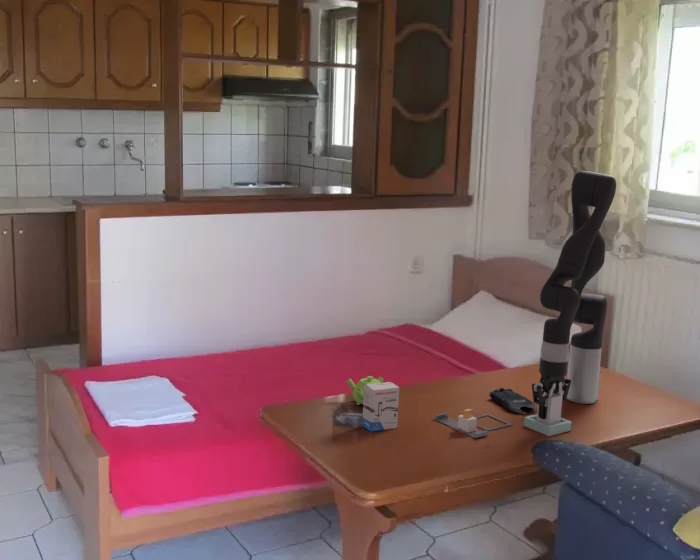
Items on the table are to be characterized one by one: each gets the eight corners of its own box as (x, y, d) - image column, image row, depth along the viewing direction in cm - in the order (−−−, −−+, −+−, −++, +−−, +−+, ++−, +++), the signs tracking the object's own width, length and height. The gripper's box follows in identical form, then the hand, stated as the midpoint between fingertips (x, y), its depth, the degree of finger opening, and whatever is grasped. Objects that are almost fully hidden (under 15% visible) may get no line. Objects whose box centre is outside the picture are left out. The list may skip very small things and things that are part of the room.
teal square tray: (545, 420, 231) (546, 411, 230) (570, 430, 224) (571, 421, 223) (523, 425, 226) (524, 417, 225) (548, 436, 218) (549, 427, 218)
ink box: (370, 432, 215) (372, 390, 213) (361, 426, 220) (363, 384, 217) (397, 428, 219) (400, 386, 217) (388, 422, 224) (391, 381, 221)
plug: (547, 418, 227) (550, 386, 226) (560, 423, 224) (563, 391, 222) (536, 420, 225) (539, 389, 223) (549, 426, 221) (552, 393, 219)
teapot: (392, 410, 233) (394, 382, 232) (354, 411, 230) (355, 383, 229) (381, 397, 244) (382, 370, 242) (344, 399, 241) (345, 371, 239)
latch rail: (446, 416, 230) (446, 412, 230) (487, 436, 217) (488, 431, 216) (434, 419, 227) (434, 414, 227) (475, 439, 214) (476, 434, 214)
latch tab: (465, 425, 222) (467, 406, 221) (475, 430, 219) (477, 411, 218) (457, 427, 221) (459, 408, 220) (467, 432, 217) (469, 413, 216)
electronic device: (486, 404, 247) (514, 414, 233) (488, 386, 247) (516, 395, 233) (511, 406, 251) (540, 415, 237) (513, 388, 251) (543, 396, 237)
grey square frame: (488, 414, 233) (488, 413, 233) (512, 425, 225) (512, 424, 225) (463, 420, 228) (463, 419, 228) (487, 431, 220) (487, 430, 220)
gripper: (547, 364, 214) (541, 425, 217) (582, 357, 222) (576, 416, 225) (525, 357, 220) (520, 417, 223) (560, 350, 228) (555, 408, 231)
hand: (548, 416), depth 224 cm, fingers closed on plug, 4 cm apart
